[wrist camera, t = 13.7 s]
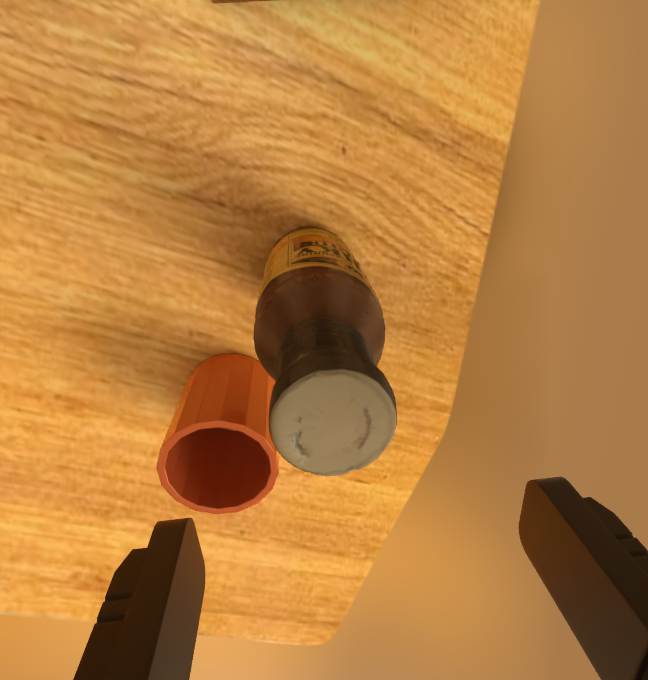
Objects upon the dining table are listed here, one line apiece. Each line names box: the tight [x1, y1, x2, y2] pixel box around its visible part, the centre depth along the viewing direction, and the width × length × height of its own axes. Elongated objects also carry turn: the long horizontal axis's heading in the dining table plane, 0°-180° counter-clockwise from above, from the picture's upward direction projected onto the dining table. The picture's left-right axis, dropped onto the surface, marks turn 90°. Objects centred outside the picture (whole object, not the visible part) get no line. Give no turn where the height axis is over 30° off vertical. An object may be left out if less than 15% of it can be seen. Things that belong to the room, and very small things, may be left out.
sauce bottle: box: [254, 227, 397, 476], centre depth 22 cm, size 6×6×20 cm
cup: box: [157, 354, 279, 514], centre depth 31 cm, size 7×7×9 cm
